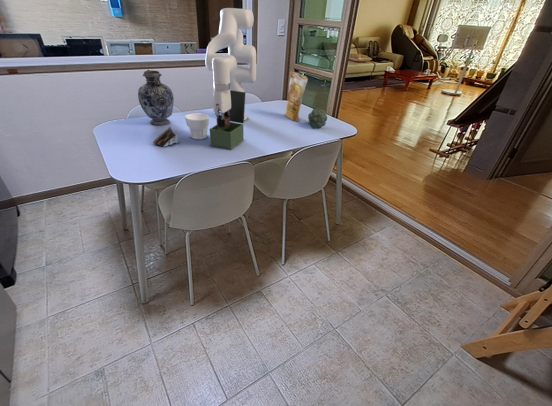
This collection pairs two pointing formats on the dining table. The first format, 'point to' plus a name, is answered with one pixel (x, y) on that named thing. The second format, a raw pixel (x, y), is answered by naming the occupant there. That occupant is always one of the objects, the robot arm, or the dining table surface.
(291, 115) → the pancake mix bag
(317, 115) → the vegetable
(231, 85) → the robot arm
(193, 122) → the cup
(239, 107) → the bin lid
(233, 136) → the bin
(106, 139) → the dining table surface
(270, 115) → the dining table surface
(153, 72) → the decorative vase
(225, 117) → the block
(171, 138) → the chocolate cake
